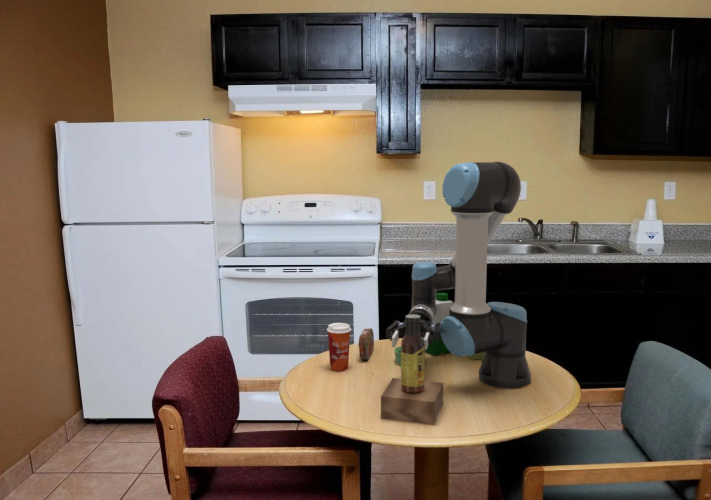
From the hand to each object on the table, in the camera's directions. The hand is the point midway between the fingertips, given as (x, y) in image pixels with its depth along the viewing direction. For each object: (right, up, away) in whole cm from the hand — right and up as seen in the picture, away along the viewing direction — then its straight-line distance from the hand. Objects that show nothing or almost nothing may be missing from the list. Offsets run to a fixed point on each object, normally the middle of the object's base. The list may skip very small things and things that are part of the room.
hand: (409, 343), depth 159 cm
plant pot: (+26, -11, +40) cm, 49 cm away
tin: (-11, -11, +43) cm, 46 cm away
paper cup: (-19, -13, +31) cm, 39 cm away
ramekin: (+3, -12, +36) cm, 38 cm away
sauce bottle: (+1, -12, -2) cm, 12 cm away
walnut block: (+1, -18, -1) cm, 18 cm away
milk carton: (+13, -10, +46) cm, 49 cm away
